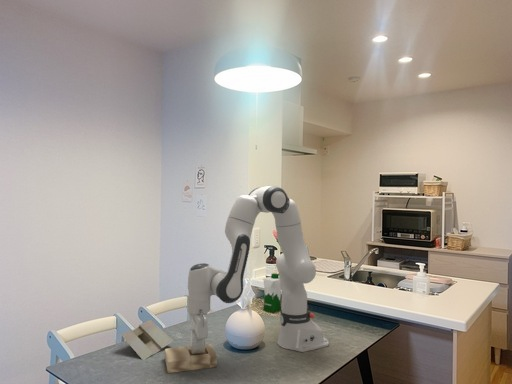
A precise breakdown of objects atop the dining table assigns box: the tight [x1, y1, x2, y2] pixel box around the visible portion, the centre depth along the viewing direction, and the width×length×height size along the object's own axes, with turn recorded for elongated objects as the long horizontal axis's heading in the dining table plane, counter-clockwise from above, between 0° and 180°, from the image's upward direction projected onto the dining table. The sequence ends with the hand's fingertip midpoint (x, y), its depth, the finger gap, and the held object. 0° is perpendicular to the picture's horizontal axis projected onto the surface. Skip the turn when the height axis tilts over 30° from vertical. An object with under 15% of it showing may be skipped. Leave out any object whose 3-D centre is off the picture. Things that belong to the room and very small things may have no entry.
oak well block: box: [164, 343, 218, 374], centre depth 146 cm, size 18×12×4 cm, turn 108°
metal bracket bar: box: [189, 328, 206, 354], centre depth 147 cm, size 5×4×8 cm
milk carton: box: [262, 272, 282, 314], centre depth 211 cm, size 9×9×20 cm
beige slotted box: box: [120, 319, 174, 361], centre depth 159 cm, size 16×9×15 cm
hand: (198, 341), depth 147 cm, fingers closed on metal bracket bar, 4 cm apart
